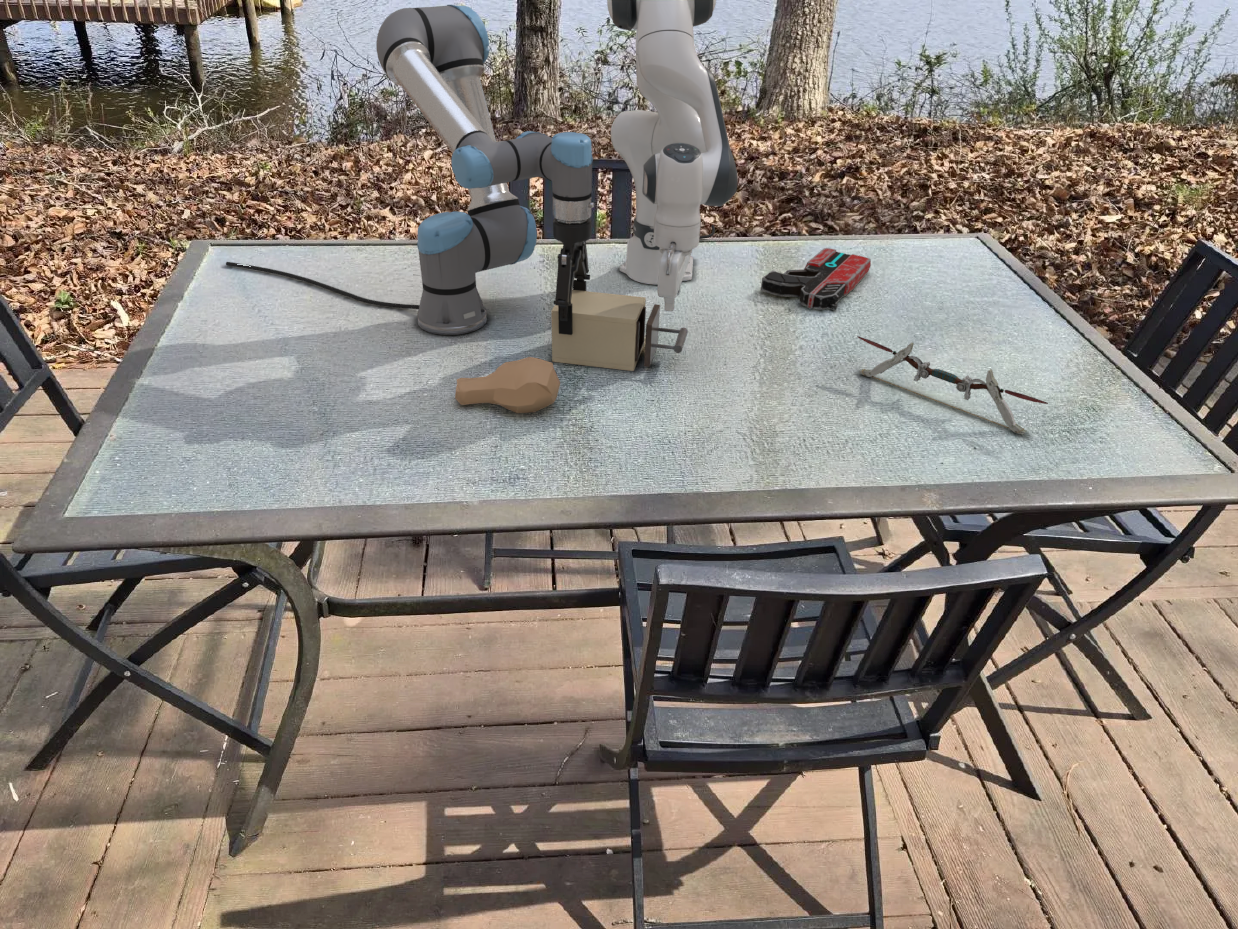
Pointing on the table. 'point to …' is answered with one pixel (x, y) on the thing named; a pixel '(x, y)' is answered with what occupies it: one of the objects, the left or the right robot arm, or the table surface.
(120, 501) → the table surface
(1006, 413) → the bow
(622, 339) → the tan box
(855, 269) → the gun
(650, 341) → the drawer
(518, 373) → the squash
